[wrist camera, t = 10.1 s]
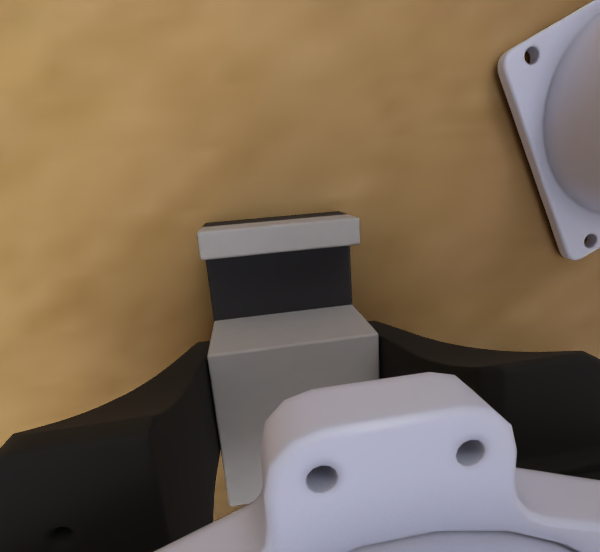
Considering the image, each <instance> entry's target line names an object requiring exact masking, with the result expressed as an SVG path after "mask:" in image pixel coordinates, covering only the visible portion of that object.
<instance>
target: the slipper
mask: <svg viewBox="0 0 600 552" xmlns="http://www.w3.org/2000/svg"><path fill="white" fill-rule="evenodd" d="M197 239H198V246H199V253H200V258H201V260H206V266H207V273H208V280H209V287H210V294H211V302H212V309H213V316H214V326H213V330H212V335H211V340H210V345H209V350H208V355H207V360H208V367H209V374H210V380H211V387H212V394H213V401H214V407H215V414H216V421H217V428H218V434H219V441H220V448H221V455H222V462H223V468H224V475H225V482H226V489H227V495H228V502H229V505H230V506H231V507H232V506H238V505H243V504H249V503H252V502H254V501H255V499H256V498H257V497H258V496H259V495H260V493H261V490H262V487H263V479H262V464H261V449H260V446H261V441H262V435H263V430H264V425H265V421H266V420H267V419H268V418H269V416H270V415H271V414H272V413H273V412H274V411H275V410H276V408H277V407H278V406H279V405H280V404H281V403H282V402H283V401H284V400H285V399H288V398H290V397H293V396H295V395H298V394H300V393H303V392H306V391H308V390H311V389H316V388H323V387H329V386H336V385H343V384H350V383H357V382H364V381H370V380H377V379H380V378H379V335H378V333H377V332H376V331H375V330H374V328H373V327H372V326H371V325H370V324H369V323H368V322H367V321H366V319H365V318H364V317H363V316H362V315H361V314H360V313H359V312H358V311H357V309H356V308H355V307H354V306H353V305H352V292H351V268H350V245H358V244H360V219H359V218H358V217H355V216H352V215H348V214H345V213H342V212H338V211H337V212H325V213H314V214H303V215H291V216H280V217H269V218H257V219H246V220H235V221H224V222H212V223H206V224H205V225H204V226H203V227H202V228H201V229H200V230H199V231H198V232H197Z"/></svg>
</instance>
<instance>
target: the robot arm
mask: <svg viewBox="0 0 600 552" xmlns="http://www.w3.org/2000/svg"><path fill="white" fill-rule="evenodd" d="M526 51H527V52H528V53H529V54H530V62H529V64H528V63H527V62H526V61H525V57H524V54H525V52H526ZM497 69H498V75H499V78H500V81H501V83H502V86H503V89H504V92H505V95H506V98H507V101H508V104H509V107H510V109H511V112H512V115H513V118H514V121H515V124H516V127H517V130H518V133H519V136H520V138H521V141H522V144H523V147H524V150H525V153H526V156H527V159H528V162H529V164H530V167H531V170H532V173H533V176H534V179H535V182H536V185H537V188H538V190H539V193H540V196H541V199H542V202H543V205H544V208H545V211H546V214H547V217H548V219H549V222H550V225H551V228H552V231H553V234H554V237H555V240H556V243H557V245H558V248H559V251H560V253H561V255H562V256H563V257H564V258H566V259H570V260H579V259H582V258H583V257H585V256H587V255H588V254H590V253H592V252H593V251H595V250H597V249H599V248H600V0H593V1H592V2H590V3H588V4H587V5H585V6H583V7H581V8H580V9H578V10H576V11H575V12H573V13H571V14H569V15H568V16H566V17H564V18H563V19H561V20H559V21H557V22H556V23H554V24H552V25H551V26H549V27H547V28H545V29H544V30H542V31H540V32H539V33H537V34H535V35H533V36H532V37H530V38H528V39H527V40H525V41H523V42H521V43H520V44H518V45H516V46H515V47H513V48H511V49H509V50H508V51H506V52H505V53H504V54H503V55H502V56H501V57H500V59H499V61H498V66H497ZM586 236H587V241H586V243H585V244H584V240H585V237H586ZM367 322H368V323H369V324H370V325H371V326H372V327H373V328H374V330H375V331H376V332H377V333H378V335H379V378H380V379H377V380H370V381H364V382H357V383H350V384H343V385H336V386H329V387H323V388H316V389H311V390H308V391H306V392H303V393H300V394H298V395H295V396H293V397H290V398H288V399H285V400H284V401H283V402H282V403H281V404H280V405H279V406H278V407H277V408H276V410H275V411H274V412H273V413H272V414H271V415H270V416H269V418H268V419H267V420H266V421H265V425H264V430H263V435H262V441H261V446H260V449H261V464H262V479H263V487H262V490H261V493H260V495H259V496H258V497H257V498H256V499H255V501H254V502H252V503H250V504H248V505H246V506H244V507H242V508H240V509H238V510H236V511H234V512H232V513H230V514H228V515H226V516H224V517H222V518H220V519H218V520H216V521H214V522H213V508H214V491H215V481H216V475H217V468H218V462H219V455H220V449H221V448H220V441H219V434H218V428H217V421H216V414H215V407H214V401H213V394H212V387H211V380H210V374H209V367H208V360H207V355H208V350H209V345H210V341H205V342H198V343H197V344H195V345H194V346H193V347H191V348H190V349H189V350H188V351H187V352H186V353H184V354H183V355H182V356H181V357H180V358H179V359H177V360H176V361H175V362H174V363H173V364H171V365H170V366H169V367H167V368H166V369H165V370H163V371H162V372H161V373H159V374H158V375H157V376H155V377H154V378H152V379H151V380H149V381H148V382H146V383H145V384H143V385H141V386H140V387H138V388H136V389H135V390H133V391H131V392H129V393H127V394H126V395H123V396H121V397H119V398H117V399H115V400H113V401H111V402H109V403H107V404H104V405H102V406H100V407H98V408H95V409H93V410H90V411H88V412H85V413H82V414H80V415H77V416H74V417H71V418H68V419H65V420H62V421H59V422H56V423H52V424H49V425H45V426H41V427H38V428H34V429H30V430H27V431H23V432H19V433H15V434H13V435H12V436H11V437H10V438H9V439H8V440H7V441H6V442H5V444H4V445H3V446H2V447H1V448H0V552H600V359H598V358H596V357H594V356H592V355H590V354H588V353H586V352H584V351H560V352H511V351H496V350H487V349H478V348H471V347H464V346H459V345H454V344H449V343H445V342H440V341H436V340H433V339H429V338H426V337H422V336H419V335H416V334H413V333H410V332H407V331H404V330H401V329H398V328H395V327H392V326H389V325H386V324H383V323H380V322H376V321H367Z"/></svg>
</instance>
